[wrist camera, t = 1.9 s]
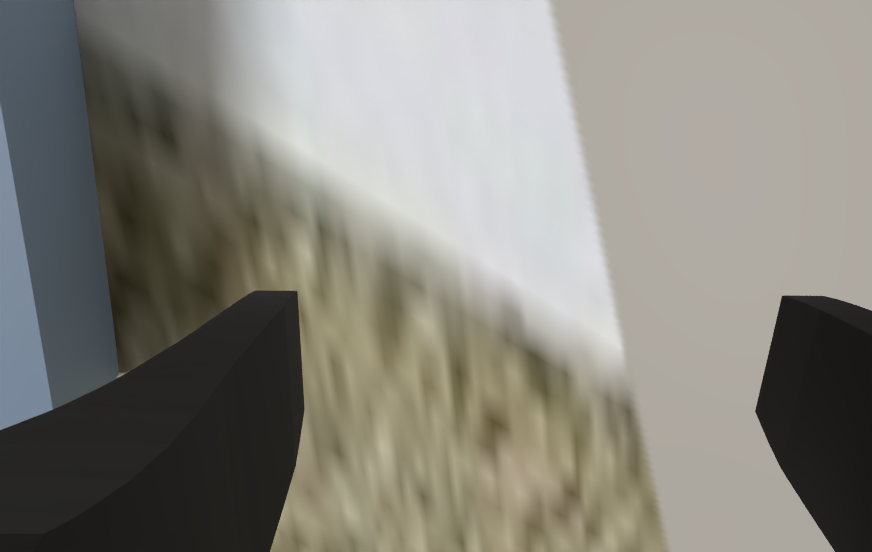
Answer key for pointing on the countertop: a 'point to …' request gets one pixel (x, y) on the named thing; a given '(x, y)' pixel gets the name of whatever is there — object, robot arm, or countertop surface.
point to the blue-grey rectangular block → (48, 219)
